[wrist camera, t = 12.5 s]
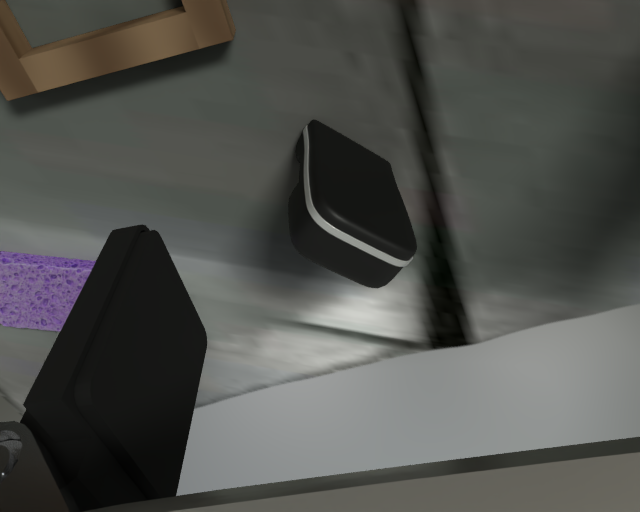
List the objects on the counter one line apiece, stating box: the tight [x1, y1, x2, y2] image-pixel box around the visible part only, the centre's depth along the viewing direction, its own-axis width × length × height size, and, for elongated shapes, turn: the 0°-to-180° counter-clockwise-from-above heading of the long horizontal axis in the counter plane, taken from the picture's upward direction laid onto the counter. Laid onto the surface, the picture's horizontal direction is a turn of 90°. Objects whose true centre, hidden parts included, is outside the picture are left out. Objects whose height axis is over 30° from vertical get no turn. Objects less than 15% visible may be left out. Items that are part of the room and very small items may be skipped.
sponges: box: [0, 251, 96, 332], centre depth 43 cm, size 7×13×2 cm, turn 80°
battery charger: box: [288, 120, 417, 288], centre depth 33 cm, size 7×4×11 cm, turn 58°
